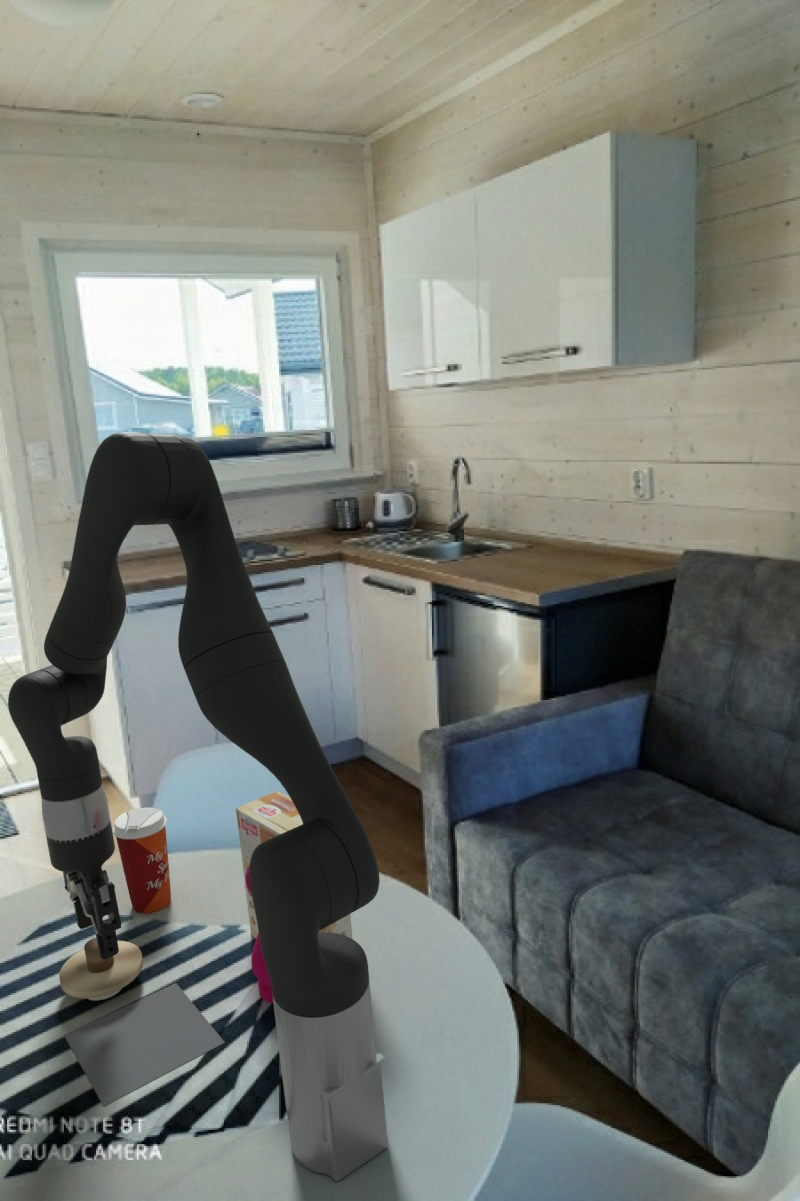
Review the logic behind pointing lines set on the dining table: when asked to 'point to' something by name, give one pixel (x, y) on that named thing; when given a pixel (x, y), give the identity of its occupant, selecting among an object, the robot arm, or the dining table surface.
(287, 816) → the coffeecake box
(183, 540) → the robot arm
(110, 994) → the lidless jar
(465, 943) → the dining table surface
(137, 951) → the lid
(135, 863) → the paper cup
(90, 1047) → the mat
